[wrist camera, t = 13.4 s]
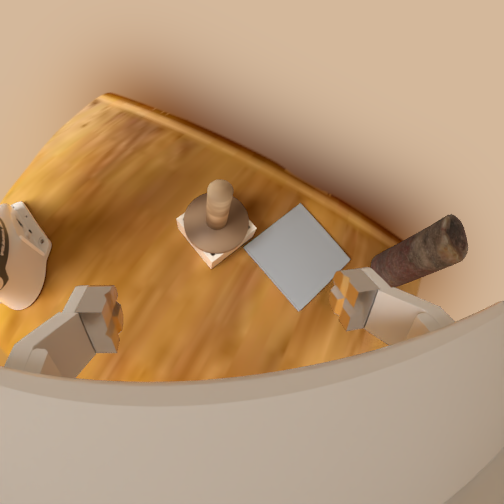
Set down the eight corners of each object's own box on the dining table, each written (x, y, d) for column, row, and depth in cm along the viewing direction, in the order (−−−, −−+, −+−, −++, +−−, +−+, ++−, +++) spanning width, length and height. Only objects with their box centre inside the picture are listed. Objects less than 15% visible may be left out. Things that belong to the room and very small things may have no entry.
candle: (396, 254, 51) (465, 217, 32) (400, 289, 49) (475, 262, 30) (367, 253, 50) (437, 210, 31) (371, 290, 48) (448, 260, 29)
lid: (171, 218, 41) (164, 184, 32) (220, 184, 44) (226, 146, 35) (211, 267, 40) (214, 244, 30) (260, 228, 43) (277, 197, 34)
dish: (178, 228, 45) (176, 218, 41) (219, 199, 48) (221, 188, 44) (211, 269, 44) (211, 262, 40) (252, 237, 47) (256, 228, 43)
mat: (243, 247, 46) (243, 246, 45) (299, 204, 50) (300, 203, 50) (298, 311, 44) (299, 311, 43) (348, 260, 49) (350, 259, 48)
